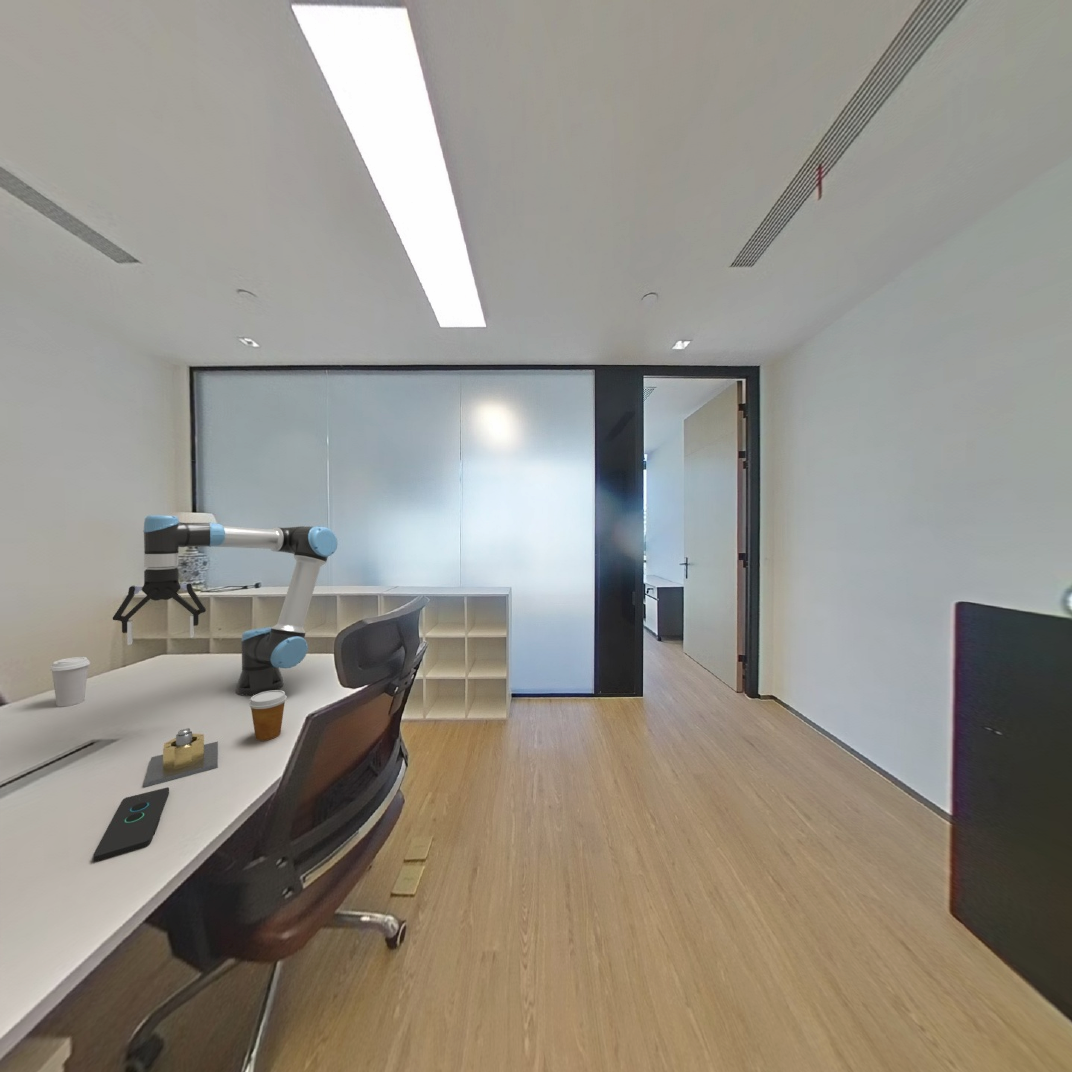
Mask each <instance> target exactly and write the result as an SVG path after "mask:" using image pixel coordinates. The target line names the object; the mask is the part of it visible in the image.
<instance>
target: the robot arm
mask: <svg viewBox="0 0 1072 1072" xmlns="http://www.w3.org/2000/svg"><path fill="white" fill-rule="evenodd" d="M142 532H143V549H144V551H143V567H144V568H146V569H144V571H143V573H144V574H143V585H142V586H140V585H139V586H138V585H130V586H129V588H128V592H127V595H126V597H125V598H124V600H123V601H122V603H121V604H120V605H119V607H118V609H117V610H116V612H115V613H114V614H113V617H112V620H113V621H117V622H121V633H122V634H127V635H126V636H127V637H126V639H127V640H126V641H127V642H126V644H127V646H130V645H132V644H133V636H134V635H133V630H134V629H133V619H130V618H132V617H133V616H134V615H136V613H137V612H138V611H139V610H140V609H141V608H143V606H145V605H146V604H147V603H148V602H149V601H150V600H152V601H155V602H156V601H161V600H163V601H164V600H165V601H167V600H171V599H173V600H174V601H177V603H179V605H181V606H182V607H183V608H185V609H186V610H187V611H188V612H189V613H190V615H189V638H191V639H192V638H194V636H195V633H194V632H195V626H196V627H197V626H199V621H200V620H199V616H200V614H204V613H206V611H207V608H206V606H205V605H204V604H203V602H202V601H201V600H200V598H199V597H198V595H197V593H196V592H195V591H194V588H193V583H192V582H187V583H181V584H180V583H179V582H180V581H179V578H180V576H179V574H180V573H179V568H177V567H178V566H179V554H180V553H179V552H180V551H179V548H190V547H191V548H198V547H199V548H200V547H201V548H203V547H204V548H205V547H206V548H207V547H209V548H211V547H215V548H217V547H218V548H238V549H239V548H241V549H266V550H267V549H268V550H270V551H272V552H275V553H276V552H279V553H287V554H293V558H294V559H295V566H294V569H293V572H292V575H291V579H290V582H289V585H288V588H287V591H286V595H285V598H284V600H283V601H284V602H283V605H282V607H281V611H280V614H279V617H278V620H277V623H276V624H275V625H273V626H265V627H259V628H252V629H249V630H246V631H244V632H243V633H242V635H241V641H240V642H241V673H240V676H239V678H238V679H237V680H238V681H237V683H236V687H235V688H236V689H235V690H236V691H235V692H236V694H237V695H240V696H254V695H256V694H259V693H262V692H266V691H272V690H280V689H281V688H282V687H283V685H284V677H283V675H282V672H281V669H291V668H292V669H293V667H296V666H297V665H298V664H300V663H302V662H303V660H304V659H305V658H306V656H307V654H308V650H309V646H308V642H307V640H306V639H305V637H306V634H307V632H306V630H305V629H304V625H305V622H306V618H307V614H308V611H309V608H310V604H311V601H312V598H313V593H314V591H315V587H316V583H317V582H318V581H317V580H318V576H319V573H320V570H321V567H322V566H323V565H326V564H327V562H328V557H330V556H332V555H334V554H335V552H336V551H337V549H338V537H337V536H336V534H335V532H334V531H333V530H332V529H330V528H328V527H324V526H318V525H317V526H305V525H304V526H303V525H302V526H291V527H289V526H288V527H279V526H278V527H277V526H275V527H273V528H271V529H268V528H257V527H242V526H240V527H239V526H230V525H229V526H227V525H222V524H221V523H217V522H216V523H215V522H182V521H179V517H178V516H177V515H159V514H158V515H155V514H151V515H148V516H146V517H145V518H144V523H143V531H142ZM181 589H182V590H183V591H186V592H187V593H188V595H189V596H190V598H191V600H193V602H194V603H195V606H196V607H197V608H198V609H197V608H196V607H194V606H193V605H192V604H191V603H189V602H188V601H187V600H186V599H185V598H183V597H182V596H181V595H180V594H179V593H178V592H179V590H181ZM141 591H142V592H143V593H144V594H145V595H146V596H145V597H144V598H142V600H141V601H140V602H138V603H137V604H136V605H135V606H134V607H133V608H131V610H129V611H128V613H126V614H125V615H123V613H124V612H125V610H126V609H127V608H128V606H129V604H130V603H131V601H132V600H133V598H134V596H135V595H136V594H138V593H140V592H141Z"/></svg>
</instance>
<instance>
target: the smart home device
mask: <svg viewBox="0 0 1072 1072" xmlns="http://www.w3.org/2000/svg"><path fill="white" fill-rule="evenodd" d="M169 795H170V788H169V787H163V788H158V789H155V790H151V791H146V792H144V793H143V792H142V793H138V794H135V795H130V796H128V797H127V796H126V797H125V798H123V799H122V800H121V801H120V803H119V806H118V807H117V809H116V811H115V813H114V815H113V816H112V818H111V821H110V822H109V824H108V826H107V828H106V830H105V832H104V833H103V836H102V837H101V839H100V841H99V843H98V845H97V846H96V849H95V850H94V852H93V856H92V857H93V863H96V862H101V861H104V860H107V859H111V858H114V857H117V856H121V855H123V854H127V853H130V852H135V851H136V850H140V849H144V848H146V847H149V846H150V845H151V843H152V841H153V838H154V836H155V834H156V831H157V829H158V827H159V824H160V820H161V817H162V814H163V811H164V809H165V806H166V803H167V800H168V797H169Z"/></svg>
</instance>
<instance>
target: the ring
mask: <svg viewBox="0 0 1072 1072" xmlns="http://www.w3.org/2000/svg"><path fill="white" fill-rule="evenodd" d="M204 745H205V734H203V733H201V734H200V733H192V743H191V744H188V745H184V746H180V747H176V737H174V738H173V739H170V740H169V741H166V742H165V743H164V744H163V748H162V755H163V768H164V769H174V770H175V769H179V768H183V767H187V766H191V765H193V764H195V763H196V762H198V761H200V760H201V759H203V758H204Z"/></svg>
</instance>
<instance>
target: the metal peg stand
mask: <svg viewBox="0 0 1072 1072" xmlns="http://www.w3.org/2000/svg"><path fill="white" fill-rule="evenodd" d="M192 734H193V731H191V729H190V728H183V729H180V730H178V732H177V734H175V738H176V747H180V746H184V745H188V744H191V743H192ZM218 756H219V742H218V741H217V740H216V741H215V742H213V741H212V742H210V743H209V742H208V743H204V758H203V759H201V760H200V761H198V762H196V763H195V764H193V765H191V766H187V767H183V768H179V769H175V770H174V769H164V768H163V754H159V755H154V756H151V757H150V760H149V764H148V768H147V771H146V775H145V778H144V781H143V788H146V787H150V786H154V785H157V784H160V783H165V782H168V781H173V780H177V779H180V778H184V777H187V776H191V775H194V774H195V775H196V774H199V773H202V772H206V771H210V770H214V769H217V768H219V764H218V763H219V761H218V759H219V757H218Z"/></svg>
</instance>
